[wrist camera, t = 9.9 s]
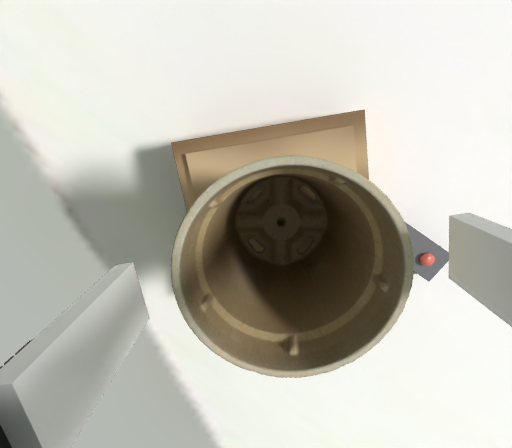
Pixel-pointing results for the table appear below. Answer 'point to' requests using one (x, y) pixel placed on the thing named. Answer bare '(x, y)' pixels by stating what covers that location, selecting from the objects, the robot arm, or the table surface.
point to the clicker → (426, 254)
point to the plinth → (271, 152)
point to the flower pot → (292, 266)
